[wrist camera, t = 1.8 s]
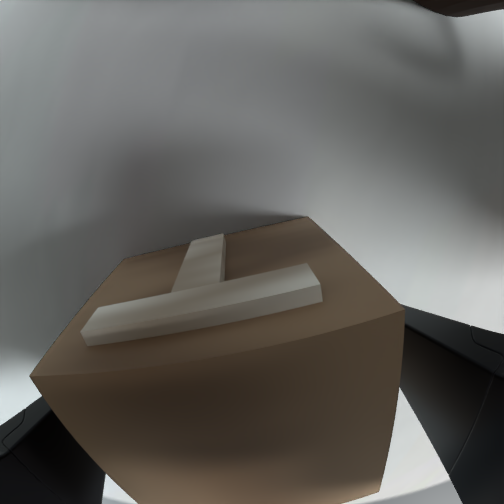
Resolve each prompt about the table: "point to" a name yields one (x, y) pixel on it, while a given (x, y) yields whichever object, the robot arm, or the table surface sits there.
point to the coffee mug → (461, 6)
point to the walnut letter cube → (234, 371)
